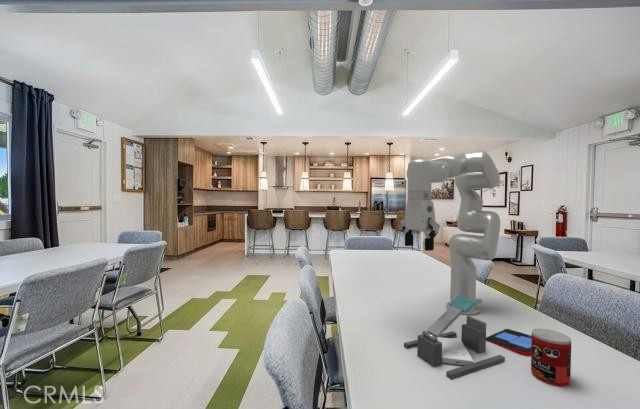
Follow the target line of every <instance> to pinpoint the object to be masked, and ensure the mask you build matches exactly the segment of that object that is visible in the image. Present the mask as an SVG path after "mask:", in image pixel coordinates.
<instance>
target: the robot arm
mask: <svg viewBox="0 0 640 409" xmlns="http://www.w3.org/2000/svg"><path fill="white" fill-rule="evenodd" d="M500 176H501V175H500V173H499V170H498V168H497V166H496V164H495V161H494V160H493V158H492V157H491V155H489V153H488V152H486V151H484V150H477V151H467V152H461V153H456V154H452V155H446V156H440V157H437V158H432V159H425V158H423V159H421V158H420V159H413V160H410V161H409V162H408V163H407V169H406V178H407V201H406V205H405V212H404V213H405V214H404V218H403V219H402V220H401V221H400V225H401V228H402V231H403V234H404V246H405V247H413V246H414V233H413V232H414V231H416V232H423V233H424V235H425V238H424V251H428V252H429V251H434V249H435V247H434V244H435V243H434V242H435V238H436V236H437V234H438V233H439V232H438V231H439V230H440V228H441V224H439V223H438V222H437V221H436V213H435V212H436V210H435V206H434V201H432V197H433V193H432V184H438V183H443V182H444V181H445V182H446V181H447V179H452V178H454V182H455V185H456V188H457V191H458V193H459V196H460V204H459V205H460V206H459V209H458V210H459V211H458V216H457V221H456V224H457V225H456V226H457V228H458V230H459V231H460V232H464V233H457V234H454V235H452V236H451V237H450V238H449V241H448V248H449V254H450V255H449V256H450V291H449V292H450V293H449V294H450V295H449V302H446V304H445V307H446V308H447V310H448V309H449V308H450V305H449V304H450V303H451V302H452V301H453V300H454V299H455V298H456V297H457V296H458V295H462V296H465V297H468V298H471V299H474V300H476V302H477V303H476V304H475V305H474V306H473V307H472V308H471V309H470V310H469V311H468V312H467V313H464V312H463V313H462V314H461V315H466V316H470V315H471V316H473V315H478V314H480V308H479V307H478V306H477V305H478V304H482V303H483V299H482V298H477V295H476V292H477V289H476V288H477V268H476V265H475V263H474V261H473V260H472V259H474V260H475V259H476V260H482V261H492V260H493V259H495V257H496V254H497V251H498V245H499V239H500V238H499V237H500V233H501V218H500V215H499V214H498V213H497V212H496V211H492V210H483V205H484V200H483V198H482V196H481V195H480V194H479V193H478V192H477V191H476V190H478V189H481V190H482V189H483V190H484V189H494V188H496V187H498V185H499V184H500V181H501V177H500ZM475 189H476V190H475ZM467 233H473V234H467ZM478 234H483V235H478Z"/></svg>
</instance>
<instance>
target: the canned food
mask: <svg viewBox="0 0 640 409" xmlns="http://www.w3.org/2000/svg"><path fill="white" fill-rule="evenodd" d="M531 336H532V337H531V356H530V371H531V373H532V375H533V376H534V378H536V379H537V380H540V381H541V382H544V383H546V384H549V385H552V386H557V387H558V386H559V387H565V386H568V385H569V384H570V382H571V377H572V376H571V374H572V373H571V372H572V371H571V370H572V369H571V368H572V339H571V337H570V336H568V335H566V334H565V333H562V332H559V331H556V330H552V329H548V328H533V329H532V330H531Z"/></svg>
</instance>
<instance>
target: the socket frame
mask: <svg viewBox="0 0 640 409" xmlns="http://www.w3.org/2000/svg"><path fill="white" fill-rule="evenodd" d="M457 336H458V335H457V332H455V331H447V332H443V333H442V334H441V335H440V336H439V337H442V338H451V339H454V338H456V337H457ZM486 337H487V322H484V321H483V320H480V319H478V318H475V317H473V316H470V315H466V323H462V324H461V336H460V338H461V339H460V340H461V341H462V343H463V344H464V346H465V347H466V349H469V350H471V351H472V352H475V353H477V354H482V353H485V352H486V350H487V347H486V346H487V341H486ZM403 347H404V348H405V349H406V350H409V349H414V348H417V350H416V353H417V355H416V356H417V357H418V358H419V359H421V360H422V361H423V362H425V363H426V364H428V365H429V366H431V367H432V368H436V367H440V366H442V363H443V362H442V343H441V342H440V341H438V340H437V341H436V342H434V341H433V340H431V339H429V338H428V337H426V336H424V335H423V334H422V333H421V334H418V335H417V339H415V340H410V341H407V342H403ZM505 361H506V357H505V356H503V355H502V354H498V355H494V356H492V357H491V356H490V357H488V358H485V359H482V360H478V361H474V363H472V364H468V365H461V366H459V367H456V368H453V369H450V370H447V371H446V375H445V376H446V377H447V378H449V380H454V379H457V378H460V377H463V376H466V375H469V374H472V373H475V372H478V371H481V370H483V369H487V368H490V367H493V366H496V365H499V364H502V363H505Z"/></svg>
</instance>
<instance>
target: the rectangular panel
mask: <svg viewBox="0 0 640 409" xmlns="http://www.w3.org/2000/svg"><path fill="white" fill-rule="evenodd" d="M476 303H477V302H476V300H474V299H471V298H468V297H465V296H462V295H458V296H457V297H456V298H455V299H454V300H453V301H452V302H451V303H450V304H449V305H450V308H449V309H448V308H447V310H446V311H444V312H443V314H442V315H441V316H439V318H437V319H436V320H435V321H434V322H433V323H432V325H431V326H429V327H428V328H427V329H426V330H422V332H421V334H423V335H424V336H426V337H428V338H429V339H431V340H433V341H434V342H436V341H437V338H438V337H439V336H440V335H441V334H443V333H445V331H446V330H447V329H448V328H449V327H450V326H451V325H453V323H454V322H455V321H456V320H457V319H458V318H459V317H460V316H461V315H463V314H462V313H463V312H464V313H467V312H468V311H469V310H470V309H471V308H472V307H473V306H474V305H475V304H476ZM436 337H437V338H436Z"/></svg>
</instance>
